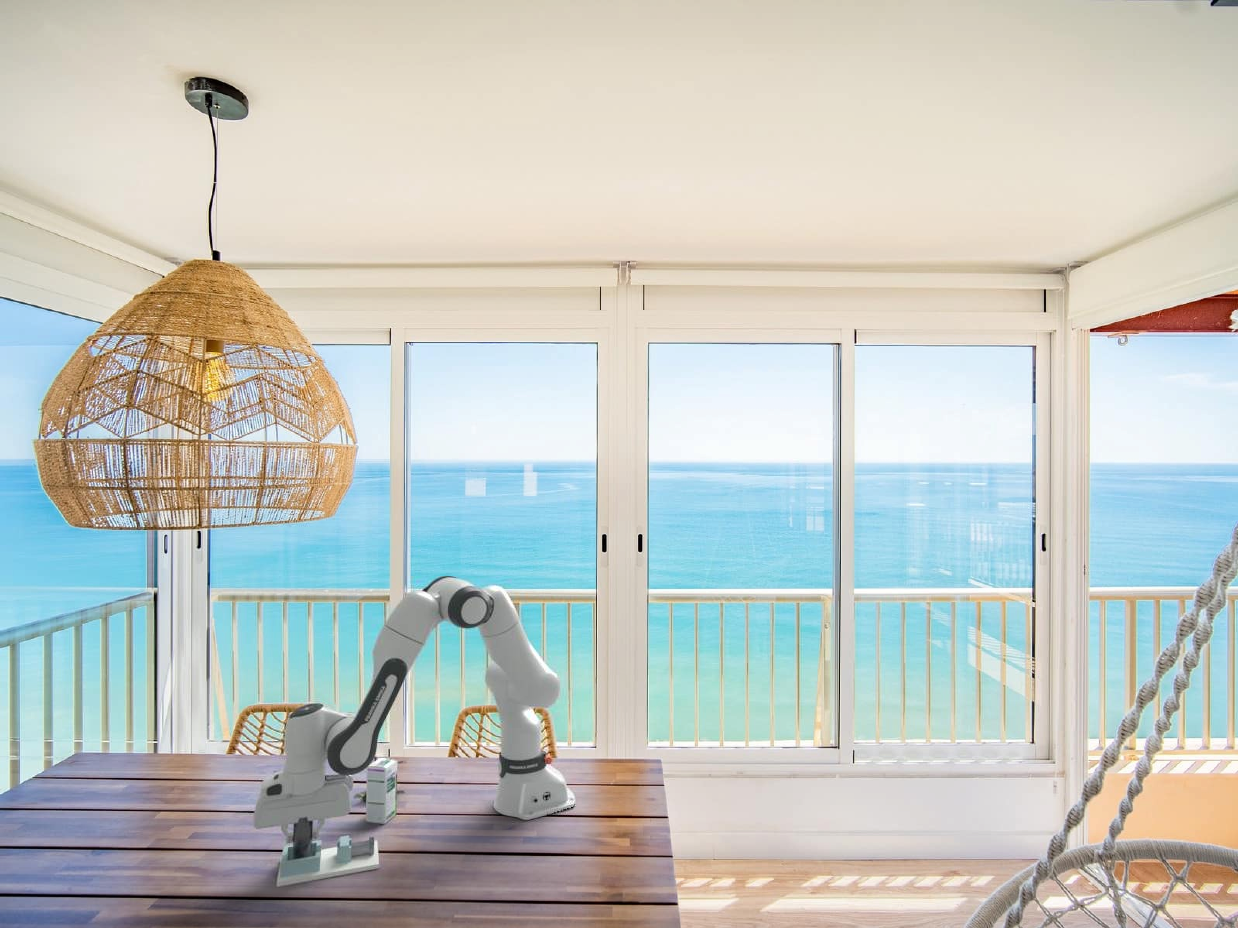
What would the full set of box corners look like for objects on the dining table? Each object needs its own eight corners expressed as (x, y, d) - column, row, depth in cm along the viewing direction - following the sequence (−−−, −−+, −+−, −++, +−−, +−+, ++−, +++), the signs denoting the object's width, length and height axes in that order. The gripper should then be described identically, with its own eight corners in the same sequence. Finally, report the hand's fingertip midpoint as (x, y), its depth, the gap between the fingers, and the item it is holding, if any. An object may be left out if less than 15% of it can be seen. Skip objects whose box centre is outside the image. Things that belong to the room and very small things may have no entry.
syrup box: (385, 824, 174) (387, 767, 174) (364, 822, 175) (366, 765, 176) (396, 814, 179) (398, 759, 180) (376, 811, 181) (378, 756, 181)
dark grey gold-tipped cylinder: (312, 852, 156) (313, 801, 156) (311, 861, 152) (312, 809, 152) (293, 856, 154) (294, 804, 155) (291, 865, 150) (293, 812, 151)
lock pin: (373, 848, 160) (373, 836, 160) (373, 854, 157) (374, 842, 158) (337, 855, 157) (337, 842, 157) (336, 860, 154) (337, 848, 155)
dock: (377, 844, 164) (377, 824, 164) (379, 868, 154) (379, 847, 154) (281, 860, 156) (282, 839, 156) (276, 887, 146) (277, 864, 146)
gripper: (353, 766, 160) (351, 825, 160) (256, 779, 153) (254, 841, 152) (353, 777, 155) (351, 838, 154) (253, 791, 147) (250, 855, 146)
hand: (302, 840), depth 153 cm, fingers closed on dark grey gold-tipped cylinder, 4 cm apart
